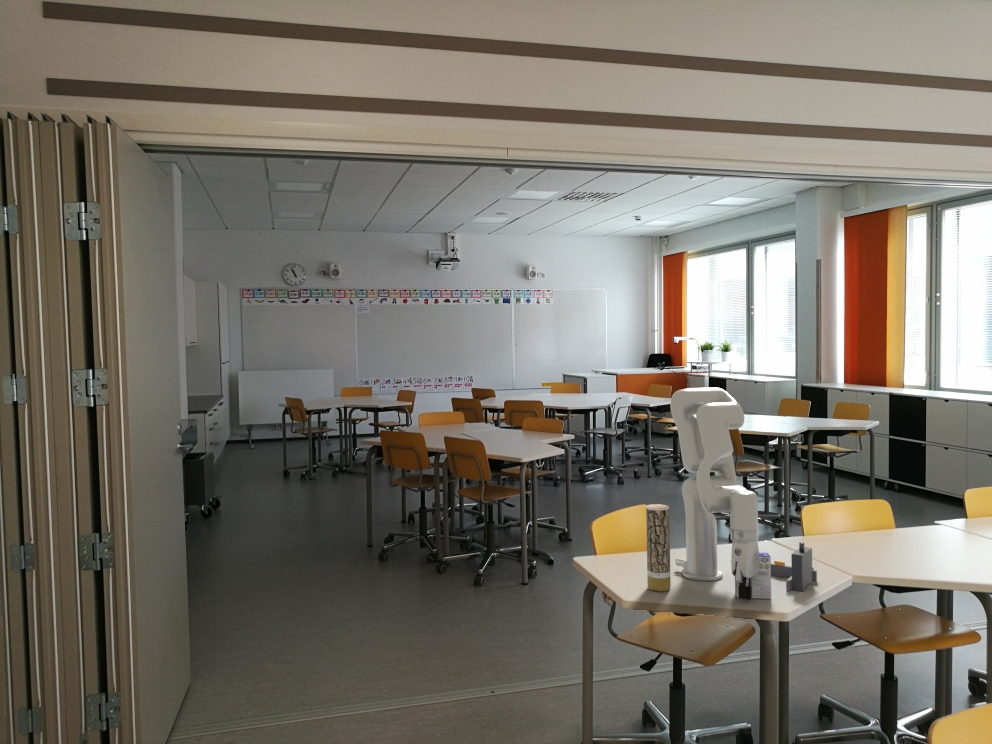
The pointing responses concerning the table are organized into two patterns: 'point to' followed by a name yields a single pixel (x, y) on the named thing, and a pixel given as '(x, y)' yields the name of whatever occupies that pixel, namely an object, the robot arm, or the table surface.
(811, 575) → the grey bracket fixture
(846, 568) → the table surface
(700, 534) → the robot arm
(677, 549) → the table surface
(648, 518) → the paper tube
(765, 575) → the ink cartridge box
